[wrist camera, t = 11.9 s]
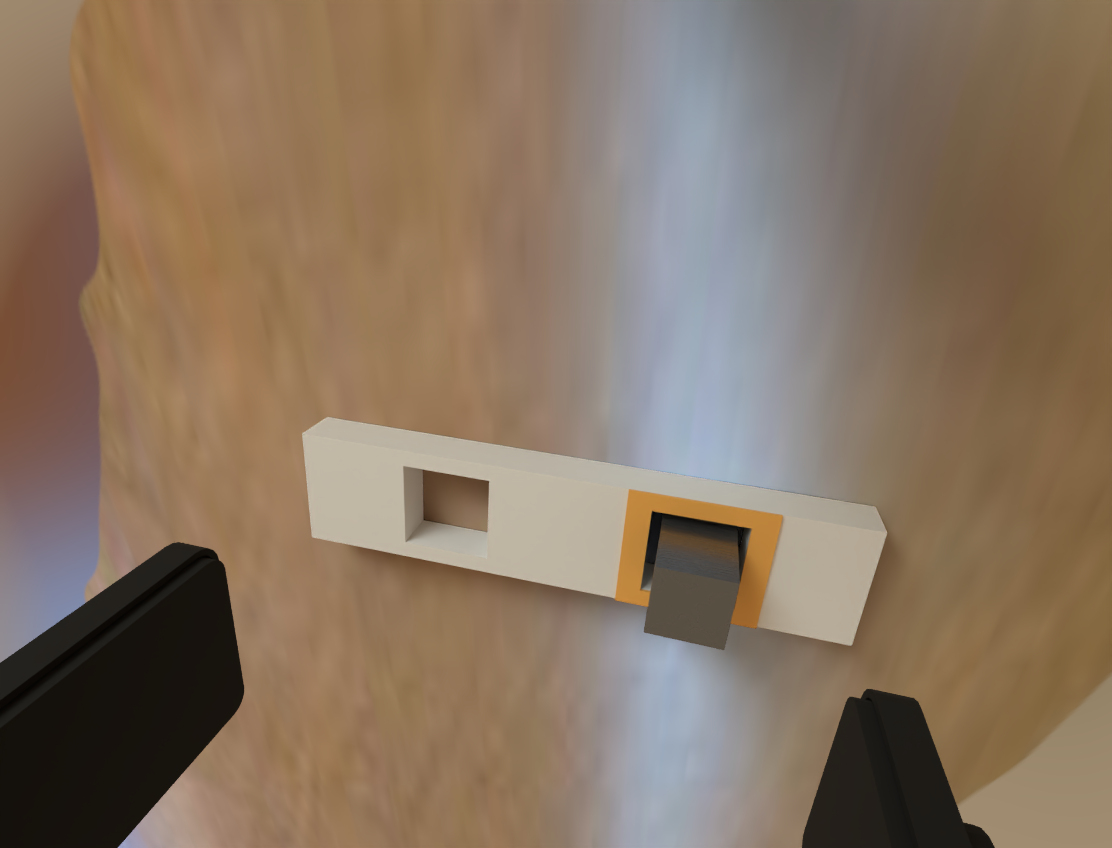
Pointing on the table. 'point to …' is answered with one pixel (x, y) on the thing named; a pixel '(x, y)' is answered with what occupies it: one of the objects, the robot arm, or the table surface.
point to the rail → (592, 523)
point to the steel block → (694, 581)
